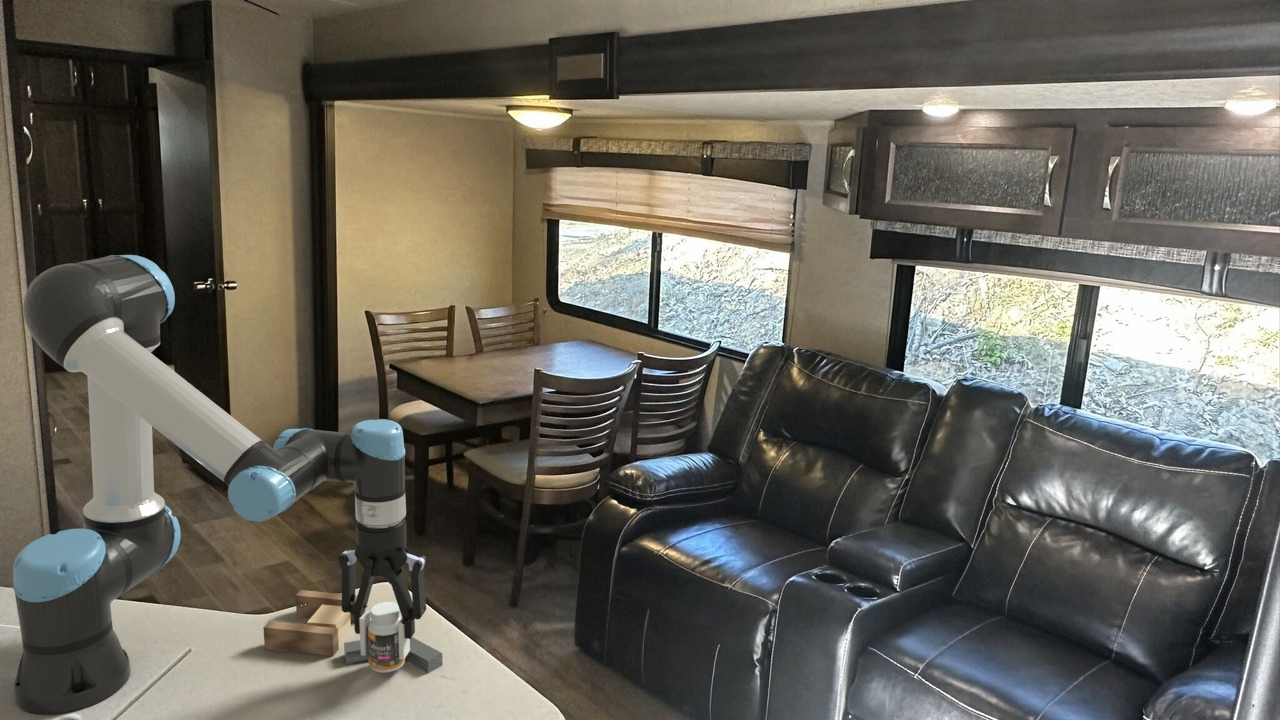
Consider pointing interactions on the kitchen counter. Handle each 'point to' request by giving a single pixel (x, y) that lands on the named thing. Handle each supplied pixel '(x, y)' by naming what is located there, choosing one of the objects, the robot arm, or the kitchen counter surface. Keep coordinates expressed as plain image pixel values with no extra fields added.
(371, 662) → the pill bottle
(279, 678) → the kitchen counter surface
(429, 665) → the v block
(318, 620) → the block
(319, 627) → the channel
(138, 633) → the kitchen counter surface
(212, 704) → the kitchen counter surface
